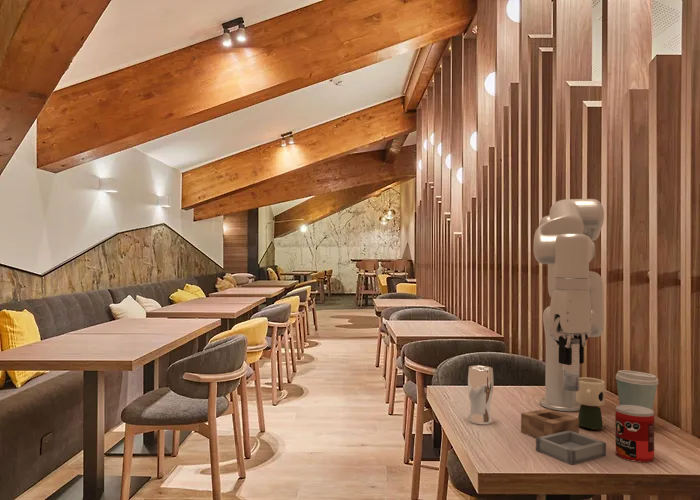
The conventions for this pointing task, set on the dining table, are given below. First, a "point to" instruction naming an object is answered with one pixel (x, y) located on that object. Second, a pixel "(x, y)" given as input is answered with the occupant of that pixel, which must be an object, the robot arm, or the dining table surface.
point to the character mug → (590, 402)
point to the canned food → (634, 432)
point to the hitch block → (547, 423)
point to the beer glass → (480, 393)
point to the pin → (572, 367)
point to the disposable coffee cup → (636, 388)
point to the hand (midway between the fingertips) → (571, 362)
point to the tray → (571, 447)
